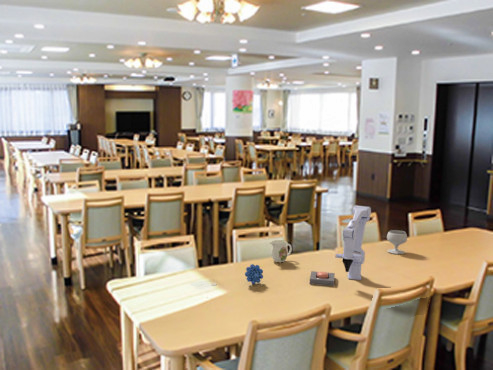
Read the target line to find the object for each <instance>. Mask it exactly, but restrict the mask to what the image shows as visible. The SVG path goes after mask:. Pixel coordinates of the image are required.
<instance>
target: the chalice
mask: <svg viewBox="0 0 493 370" xmlns="http://www.w3.org/2000/svg"><path fill="white" fill-rule="evenodd" d="M386 239H387V241H388V242H389V243H391V244H392V245H393V246H394V248H390V249H387V250H386V251H387V252H388V253H391V254H394V255H403V254H405V250H401V249H399V246H400V245H403V244H405V243H406V242H407V241H408V235H407V233H406V231H403V230H398V229H394V230H393V229H391V230H389V231H388V232H387V235H386Z"/></svg>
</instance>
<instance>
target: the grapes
mask: <svg viewBox="0 0 493 370" xmlns="http://www.w3.org/2000/svg"><path fill="white" fill-rule="evenodd" d="M245 270H246V271H245V273H244V276H245V277H246V280H247V282H251V284H252V285H256V284H257V283H258V284H259V283H261V280H262V279H263V278H264V274H263V272H264V271H263V268H261V266H260V265H258V264H256V265H255V264H253V263H251V264H250V266H247V267H246V268H245Z"/></svg>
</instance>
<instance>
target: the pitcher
mask: <svg viewBox="0 0 493 370" xmlns="http://www.w3.org/2000/svg"><path fill="white" fill-rule="evenodd" d="M269 244H271V251H270V252H271V258H272V260H273V262H274V261H275V262H274V263H276V262H283V263H285V262H286V260H287V257H289V256H290V255H291V253H292V251H293V248H292V245H291V244H290V243H288V242H287V241H286V240H278V239H277V240H272V241H269ZM288 247H289V249H288Z"/></svg>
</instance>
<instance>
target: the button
mask: <svg viewBox="0 0 493 370" xmlns="http://www.w3.org/2000/svg"><path fill="white" fill-rule="evenodd" d="M316 272H317V278H326V279H328V273H329V272H326V271H316Z"/></svg>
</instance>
